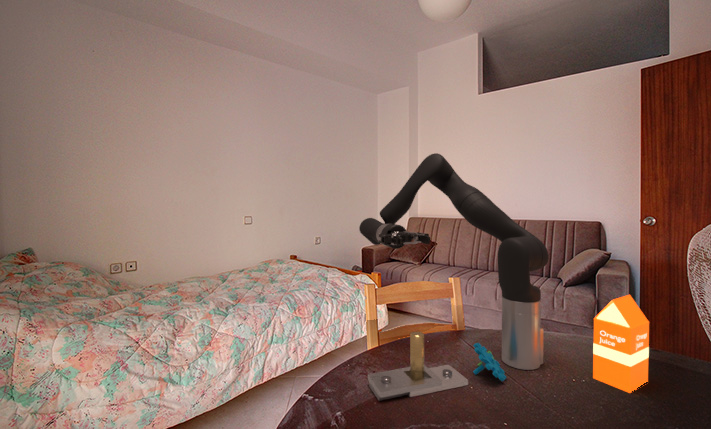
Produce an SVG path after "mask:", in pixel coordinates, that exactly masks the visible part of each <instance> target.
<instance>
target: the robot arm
mask: <svg viewBox="0 0 711 429" xmlns="http://www.w3.org/2000/svg"><path fill="white" fill-rule="evenodd" d="M427 182H429V184H431V185H432V186H433V187H435V188H437V189H438V190H439V191H440V192H442V193H443V195H445V196H446V197H448V199H449V201H450V202H451V203H452V205H453V207H454V208H455V209H456V210H457V212H458V213H459V214H460V215H461V216H462V217H463V218H464V219H465V221H467V222H468V223H469V224H470V225H471V226H473V227H474V228H476V229H478V230H480V231H482V232H484V233H486V234H488V235H489V236H492V237H494V238H495V239H498V240H499V241H500V242H501V243H500V244H499V246H498V250H497V274H498V276H497V277H498V284H499V288H500V290H501V361H502V362H503V363H505V365H507V366H509V367H512V368H515V369H518V370H525V371H527V370H528V371H531V370H536V369H539V368H540V367H541V365H543V364H544V327H542V325H541V324H542V322H541V321H542V320H541V306H542V305H541V304H542V302H541V300H542V298H541V297H542V296H541V295H542V292H541V289H540V288H539V286H536V285H533V284H532V283H531V274H530V272H534V271H538V270H540V269H543V268H545V267H546V266H547V264H548V263H549V252H548V249H547V247H546V245H545V244H544V243H543V242H542V240H541V239H540V238H538V237H537V236H536V235H534V234H532V232H530V231H529V230H527V229H526V228H524V227H523V226H521V225H520V224H519V223H517V222H516V221H515V220H513V219H512V218H511V217H510V216H509V215H508V214H506V212H504V211H503V210H502V209H501V208H500V207H499V206H497V205H496V204H495V203H494V202H493V201H492V200H491V199H490V198H489V197H488V196H487V195H485V193H484V192H482V191H481V190H479V189H478V188H477V187H475V186H474V185H471V184H468V183H467V182H465V181H464V180H463V179H462V178H461V177H460V175H459V174H458V173H457V172H456V171H455V169H454V168H453V166H452V165H451V164H450V163H449V161H448V160H447V159H446V158H445V157H444V156H443V155H442V154H440V153H431V154H429V155H428V156H426V157H425V158H424V159H423V160H422V161H421V163H420V164H419V165H418V166H417V168H416V169H415V171H414V172H413V173H412V174H411V176H409V178H408V180H407V181H406V182H405V184H404V185H403V186H402V188H401V189H400V191H399V192H397V194H395V196H394V197H393V198H392V199H391V200H390V201H389V202H388V203H387V204H385V205H384V207H383V208H382V209H381V210H380V211H379V216H380V218H381V219H382V220H383V222H382V221H379V220H378V219H376V218H374V217H367V218H365V219H363V220H362V221H361V223H360V225H359V230H358V231H359V233H360V234H361V235H362V236H363V237H364V238H366V240H368V241H369V242H370V243H371V244H372V245H374V246H379V245H382V246H384V247H387V248H391V249H395V250H400V249H401V248H403V247H404V246H405V245H416V244H424V245H430V243H431V237H430V234H429V233H424V232H420V231H418V232H416V231H409V230H407V229H406V228H405V227H404V226H402V225H401V224H397V223H398V222H399V221H400V219H402V217H404V215H406V214H407V213H408V211H409V210H410V209H411V207H412V204H413V202H414V199H415V198H416V197H417V196H416V195H417V194H418V192H419V191H420V189H421V188H422V187H423V185H424V184H425V183H427Z"/></svg>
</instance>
